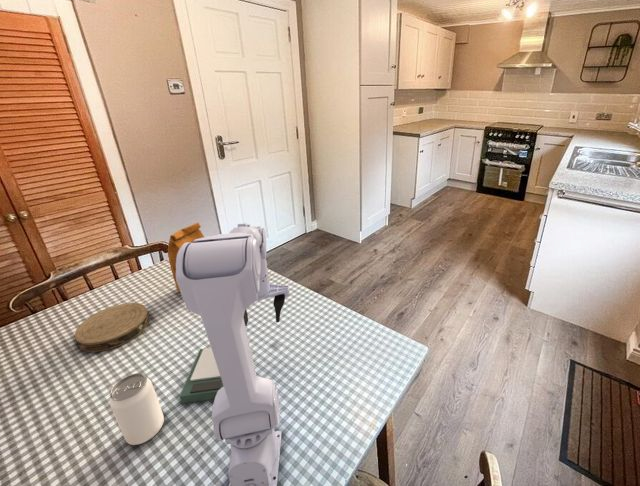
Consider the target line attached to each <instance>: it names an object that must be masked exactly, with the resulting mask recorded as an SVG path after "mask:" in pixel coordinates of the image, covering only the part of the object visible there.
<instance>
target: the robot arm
mask: <svg viewBox="0 0 640 486" xmlns="http://www.w3.org/2000/svg"><path fill="white" fill-rule="evenodd" d="M269 277H270V276H269V269H268V263H267V233H266V229H265V227H261V226H260V225H255V226H254V225H253V226H251V224H247V223H237V227H233V229H231V230H230V231H229V232H228V233H219V234H218V233H217V234H212V235H208V236H204V238H199V239H195V240H194V241H193V243H191V242H187V243H184V244H183V245H182V247H181V248H180V249H179V251H178V253H177V258H176V281H177V284H178V287H179V289H180V292H179V293H180V294H181V295H180V296H181V299H182V301H183V302H184V304H185V307H186V309H187V311H189V312H191V313H193V314H195V315H198V316H199V317H200V318H201V321H202V324H203V327H204V331H205V333H206V336H207V339H208V343H209V345H210V348H211V349H212V352H213V355H214V358H215V361H216V364H217V367H218V370H219V373H220V376H221V379H222V383H223V387H222V388H221V389H220V390H218V392H217V394H216V397H215V399H213V405H212V410H211V419H212V429H213V431H212V432H213V435H214V437H215V439H216V440H217V441H218V442H221V441H222V442H223V441H225V444H226V445H230V462H229V466H228V471H227V476H228V481H229V483H228V486H278V477H279V467H280V466H279V465H280V456H281V446H282V445H281V443H282V434H283V433H282V431H281V430H275V429H276V428H277V426H278V425H279V423H280V395H279V393H280V392H279V389H278V388H277V385H276V384H275V383H274V380H272V379H270V378H267V377H263V376H259V375H257V371H256V366H255V362H254V357H253V352H252V348H251V344H250V340H249V336H248V335H249V334H248V332H247V326H248V323H249V315H248V311H247V309H248V308H249V307H251V306H252V305H254V303H256V302H259V301H264V300H266V299H269V298H273V297H274V298H273V302H272V303H273V304H272V305H273V307H274V312H275V322H276V323H279V322H281V321H280V320H281V312H282V309H283V307H284V305H285V301H286V298H287V297H290V294H291V290H290V285H289V284H286V285H285V284H284V285H283V284H273V283H270V278H269Z"/></svg>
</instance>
